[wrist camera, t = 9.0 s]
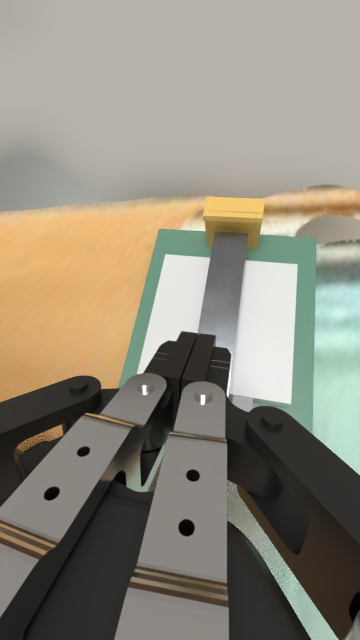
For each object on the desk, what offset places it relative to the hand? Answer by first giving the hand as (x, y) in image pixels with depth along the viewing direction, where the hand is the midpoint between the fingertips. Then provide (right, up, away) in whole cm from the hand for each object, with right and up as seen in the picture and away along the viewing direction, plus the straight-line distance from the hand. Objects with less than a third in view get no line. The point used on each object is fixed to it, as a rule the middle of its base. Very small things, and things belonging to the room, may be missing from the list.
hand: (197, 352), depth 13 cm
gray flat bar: (+3, +2, +12) cm, 12 cm away
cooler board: (+3, 0, +15) cm, 15 cm away
